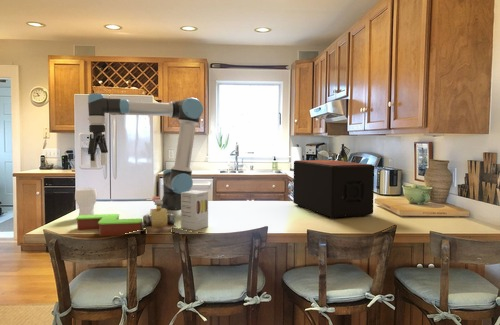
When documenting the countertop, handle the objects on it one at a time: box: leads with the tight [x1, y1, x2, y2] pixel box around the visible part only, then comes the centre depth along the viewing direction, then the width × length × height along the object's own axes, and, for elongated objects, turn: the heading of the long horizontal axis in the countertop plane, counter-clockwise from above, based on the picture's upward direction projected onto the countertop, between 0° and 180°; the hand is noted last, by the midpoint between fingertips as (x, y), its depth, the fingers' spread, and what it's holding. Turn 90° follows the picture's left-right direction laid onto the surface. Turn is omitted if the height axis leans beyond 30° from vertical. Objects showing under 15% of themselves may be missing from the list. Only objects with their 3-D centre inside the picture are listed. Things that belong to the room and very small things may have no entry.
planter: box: [75, 213, 143, 237], centre depth 165 cm, size 30×18×6 cm, turn 100°
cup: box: [74, 187, 98, 216], centre depth 190 cm, size 11×11×15 cm
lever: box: [152, 196, 163, 206], centre depth 174 cm, size 14×4×2 cm, turn 21°
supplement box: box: [180, 189, 209, 231], centre depth 171 cm, size 10×9×17 cm
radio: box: [292, 159, 375, 220], centre depth 212 cm, size 45×27×28 cm, turn 20°
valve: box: [142, 205, 176, 227], centre depth 169 cm, size 14×6×10 cm, turn 110°
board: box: [142, 220, 177, 235], centre depth 170 cm, size 14×20×2 cm
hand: (98, 166), depth 186 cm, fingers open, 13 cm apart
